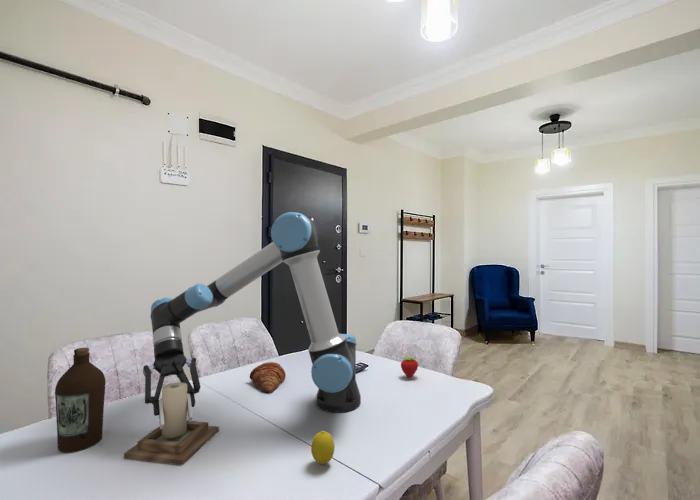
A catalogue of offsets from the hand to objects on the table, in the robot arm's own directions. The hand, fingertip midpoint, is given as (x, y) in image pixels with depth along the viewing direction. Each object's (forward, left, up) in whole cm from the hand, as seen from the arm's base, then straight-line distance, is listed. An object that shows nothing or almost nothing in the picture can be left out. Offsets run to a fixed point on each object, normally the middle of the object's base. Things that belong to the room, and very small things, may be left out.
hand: (176, 422), depth 88 cm
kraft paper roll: (+3, -3, -4) cm, 5 cm away
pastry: (-5, -47, -7) cm, 48 cm away
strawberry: (-60, -62, -7) cm, 86 cm away
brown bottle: (+27, +1, -7) cm, 28 cm away
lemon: (-39, -1, -7) cm, 39 cm away
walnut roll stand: (+2, -3, -7) cm, 8 cm away
